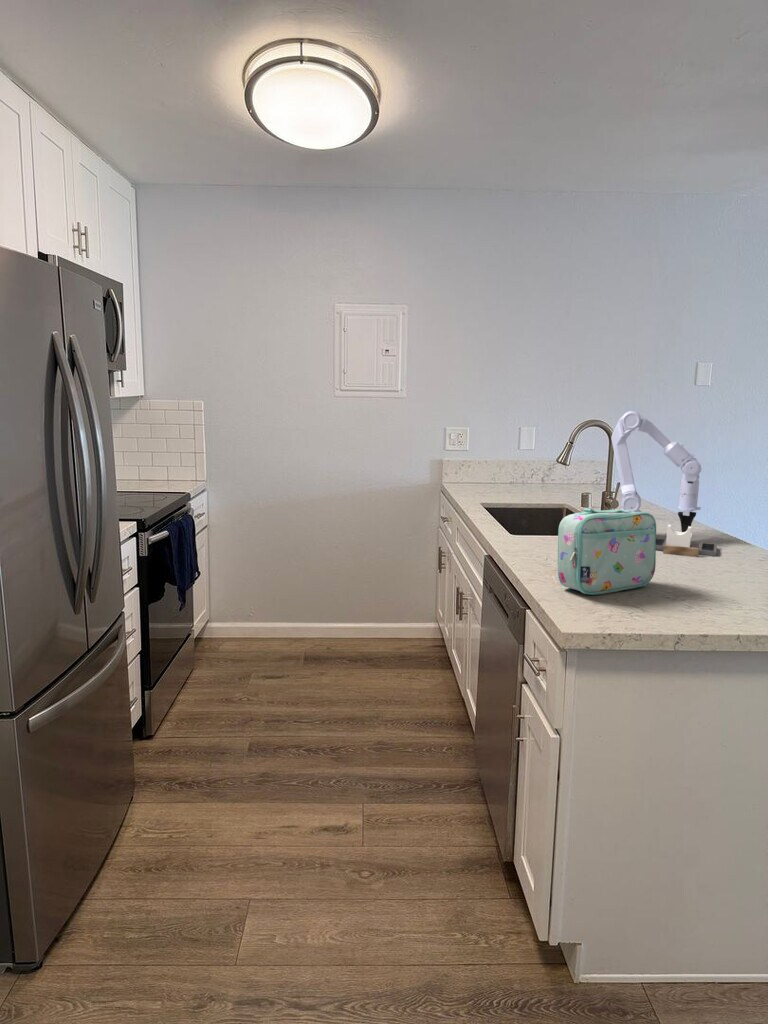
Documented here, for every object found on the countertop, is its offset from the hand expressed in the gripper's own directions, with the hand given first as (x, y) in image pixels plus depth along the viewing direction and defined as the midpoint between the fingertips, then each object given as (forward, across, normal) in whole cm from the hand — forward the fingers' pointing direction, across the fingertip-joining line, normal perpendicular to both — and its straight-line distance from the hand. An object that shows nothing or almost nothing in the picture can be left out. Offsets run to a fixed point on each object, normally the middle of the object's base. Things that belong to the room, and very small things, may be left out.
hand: (685, 533), depth 229 cm
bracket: (+3, -7, +1) cm, 8 cm away
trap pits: (+3, -13, 0) cm, 13 cm away
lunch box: (+3, -71, +15) cm, 73 cm away
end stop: (+3, -22, 0) cm, 22 cm away
